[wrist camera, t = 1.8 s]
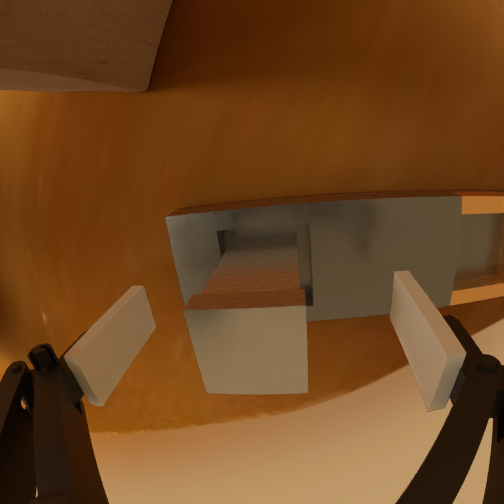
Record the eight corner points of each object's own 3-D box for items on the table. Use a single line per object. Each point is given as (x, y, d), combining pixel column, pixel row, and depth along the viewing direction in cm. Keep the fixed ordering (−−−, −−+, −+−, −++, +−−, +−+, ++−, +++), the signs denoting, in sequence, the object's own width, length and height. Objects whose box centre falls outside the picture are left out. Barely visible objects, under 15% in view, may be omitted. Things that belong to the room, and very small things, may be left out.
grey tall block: (241, 290, 21) (207, 392, 12) (232, 231, 20) (182, 309, 11) (303, 287, 21) (307, 393, 11) (299, 226, 19) (305, 305, 10)
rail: (198, 308, 23) (189, 325, 21) (178, 208, 21) (165, 217, 18) (511, 279, 19) (525, 290, 17) (523, 191, 16) (540, 197, 14)
